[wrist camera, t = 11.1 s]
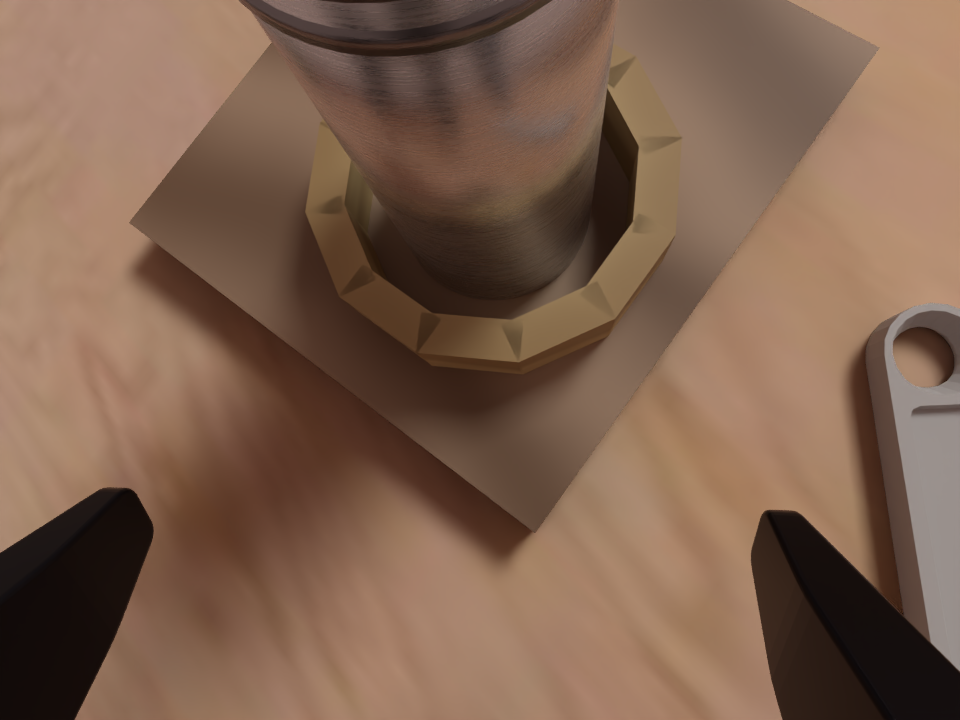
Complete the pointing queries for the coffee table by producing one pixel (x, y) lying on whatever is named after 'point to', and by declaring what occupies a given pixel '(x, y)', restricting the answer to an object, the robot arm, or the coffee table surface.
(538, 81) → the silver metal cylinder
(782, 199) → the coffee table surface
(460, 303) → the ring seat
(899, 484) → the adjustable wrench
